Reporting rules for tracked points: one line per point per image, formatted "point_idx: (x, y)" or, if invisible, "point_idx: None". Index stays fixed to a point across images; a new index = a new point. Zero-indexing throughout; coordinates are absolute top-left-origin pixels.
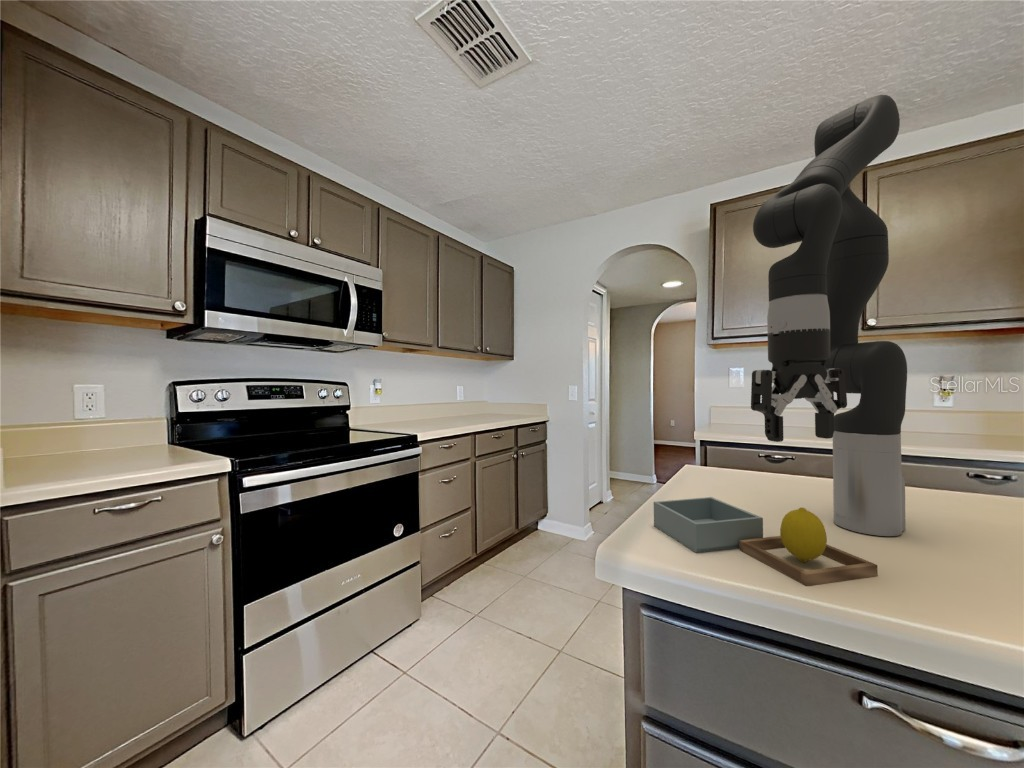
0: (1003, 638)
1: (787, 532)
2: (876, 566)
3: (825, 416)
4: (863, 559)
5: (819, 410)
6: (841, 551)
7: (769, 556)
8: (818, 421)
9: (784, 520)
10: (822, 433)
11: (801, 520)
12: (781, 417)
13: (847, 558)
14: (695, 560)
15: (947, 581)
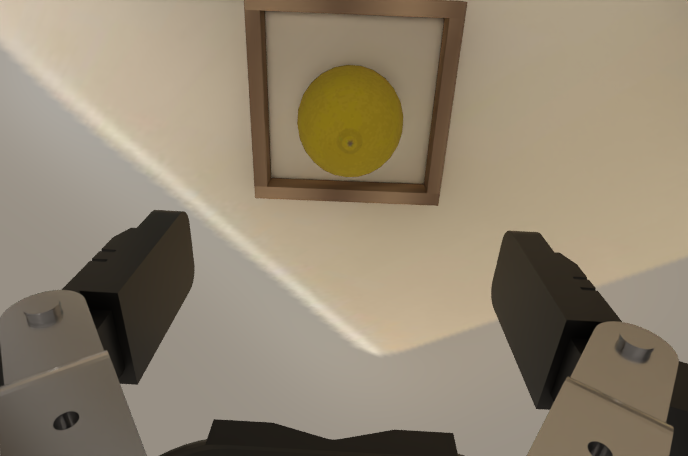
0: (391, 347)
1: (297, 122)
2: (434, 204)
3: (533, 374)
4: (439, 180)
5: (574, 363)
6: (440, 135)
7: (251, 104)
8: (531, 303)
9: (305, 109)
10: (505, 277)
11: (318, 157)
12: (127, 378)
13: (430, 151)
14: (91, 18)
15: None
